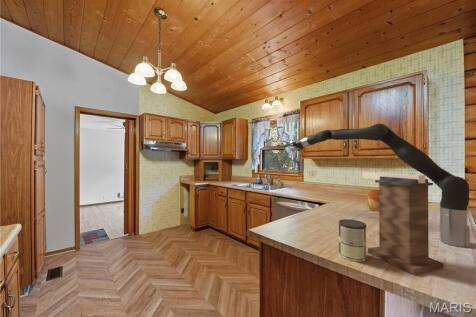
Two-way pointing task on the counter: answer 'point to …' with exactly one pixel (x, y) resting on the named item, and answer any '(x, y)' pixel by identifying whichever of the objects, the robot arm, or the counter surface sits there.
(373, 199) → the bread
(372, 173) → the slat
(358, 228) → the coffee can
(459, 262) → the counter surface
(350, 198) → the counter surface
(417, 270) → the stand
